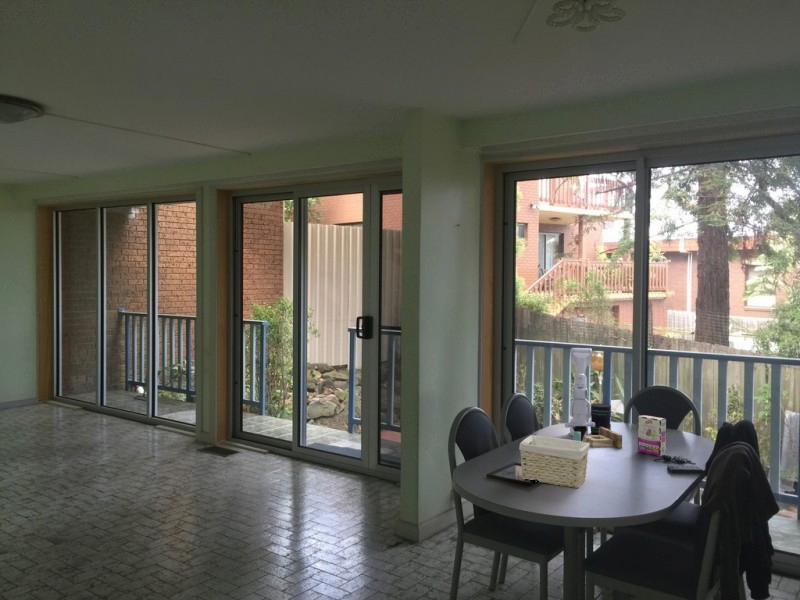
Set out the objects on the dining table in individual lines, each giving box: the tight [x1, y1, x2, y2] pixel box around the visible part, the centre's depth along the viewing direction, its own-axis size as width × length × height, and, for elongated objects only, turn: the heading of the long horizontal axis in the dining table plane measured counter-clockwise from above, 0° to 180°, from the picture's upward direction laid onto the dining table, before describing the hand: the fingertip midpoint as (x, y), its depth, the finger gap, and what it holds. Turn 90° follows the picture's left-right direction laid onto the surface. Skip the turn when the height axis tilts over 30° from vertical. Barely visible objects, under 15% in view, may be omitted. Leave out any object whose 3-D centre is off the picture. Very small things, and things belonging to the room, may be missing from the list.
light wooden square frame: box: [582, 434, 614, 448], centre depth 299 cm, size 10×10×3 cm
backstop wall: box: [599, 427, 623, 449], centre depth 300 cm, size 18×2×6 cm, turn 11°
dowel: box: [572, 431, 581, 441], centre depth 289 cm, size 3×3×8 cm
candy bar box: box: [637, 414, 667, 458], centre depth 282 cm, size 11×5×16 cm, turn 37°
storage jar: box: [589, 402, 612, 435], centre depth 319 cm, size 10×10×15 cm
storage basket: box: [518, 434, 591, 489], centre depth 243 cm, size 24×16×15 cm
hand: (579, 442), depth 297 cm, fingers closed
